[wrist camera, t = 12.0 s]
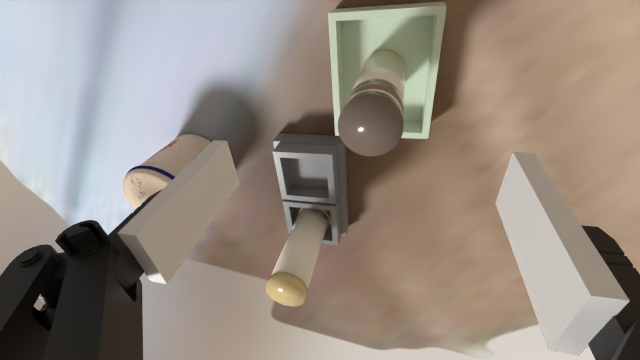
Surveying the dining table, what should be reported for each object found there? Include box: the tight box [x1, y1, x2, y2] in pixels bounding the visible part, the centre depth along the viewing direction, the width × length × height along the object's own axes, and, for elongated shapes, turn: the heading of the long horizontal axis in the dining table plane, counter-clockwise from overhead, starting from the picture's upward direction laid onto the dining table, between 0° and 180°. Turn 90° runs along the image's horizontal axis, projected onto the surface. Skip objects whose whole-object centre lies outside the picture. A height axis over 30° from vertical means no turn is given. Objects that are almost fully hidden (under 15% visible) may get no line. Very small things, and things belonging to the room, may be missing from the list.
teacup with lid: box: [123, 134, 211, 210], centre depth 37 cm, size 12×9×12 cm
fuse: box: [266, 208, 331, 306], centre depth 34 cm, size 4×4×12 cm
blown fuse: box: [338, 50, 406, 156], centre depth 23 cm, size 4×4×12 cm
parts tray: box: [328, 1, 447, 139], centre depth 27 cm, size 11×9×3 cm
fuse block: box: [273, 133, 349, 246], centre depth 37 cm, size 14×8×4 cm, turn 5°
